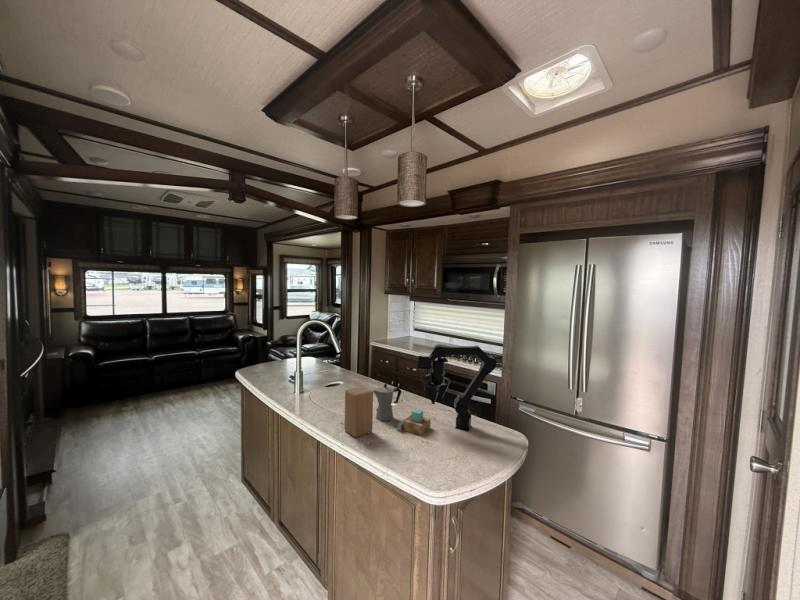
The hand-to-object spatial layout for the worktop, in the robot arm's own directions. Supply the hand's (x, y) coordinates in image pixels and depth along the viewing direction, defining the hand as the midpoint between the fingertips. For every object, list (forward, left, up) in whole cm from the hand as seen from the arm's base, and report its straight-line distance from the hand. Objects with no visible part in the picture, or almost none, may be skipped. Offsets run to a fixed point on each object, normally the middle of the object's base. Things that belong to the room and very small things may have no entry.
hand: (437, 401), depth 158 cm
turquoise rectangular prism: (+6, +9, -12) cm, 17 cm away
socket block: (+6, +9, -12) cm, 16 cm away
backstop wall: (+12, +9, -12) cm, 20 cm away
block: (+28, +27, -13) cm, 41 cm away
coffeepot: (+26, +6, -13) cm, 30 cm away
